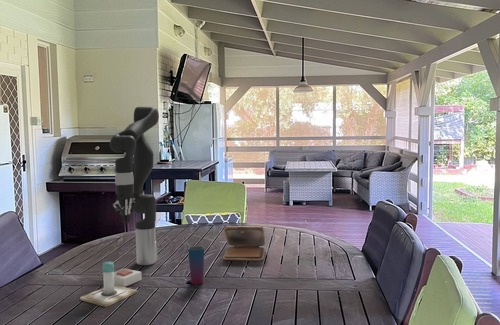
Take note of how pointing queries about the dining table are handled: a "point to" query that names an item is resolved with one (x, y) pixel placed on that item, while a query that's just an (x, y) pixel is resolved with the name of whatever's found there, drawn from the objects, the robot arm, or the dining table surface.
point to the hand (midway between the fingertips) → (126, 223)
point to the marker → (108, 278)
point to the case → (245, 243)
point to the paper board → (108, 296)
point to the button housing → (127, 278)
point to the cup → (196, 264)
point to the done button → (124, 272)
